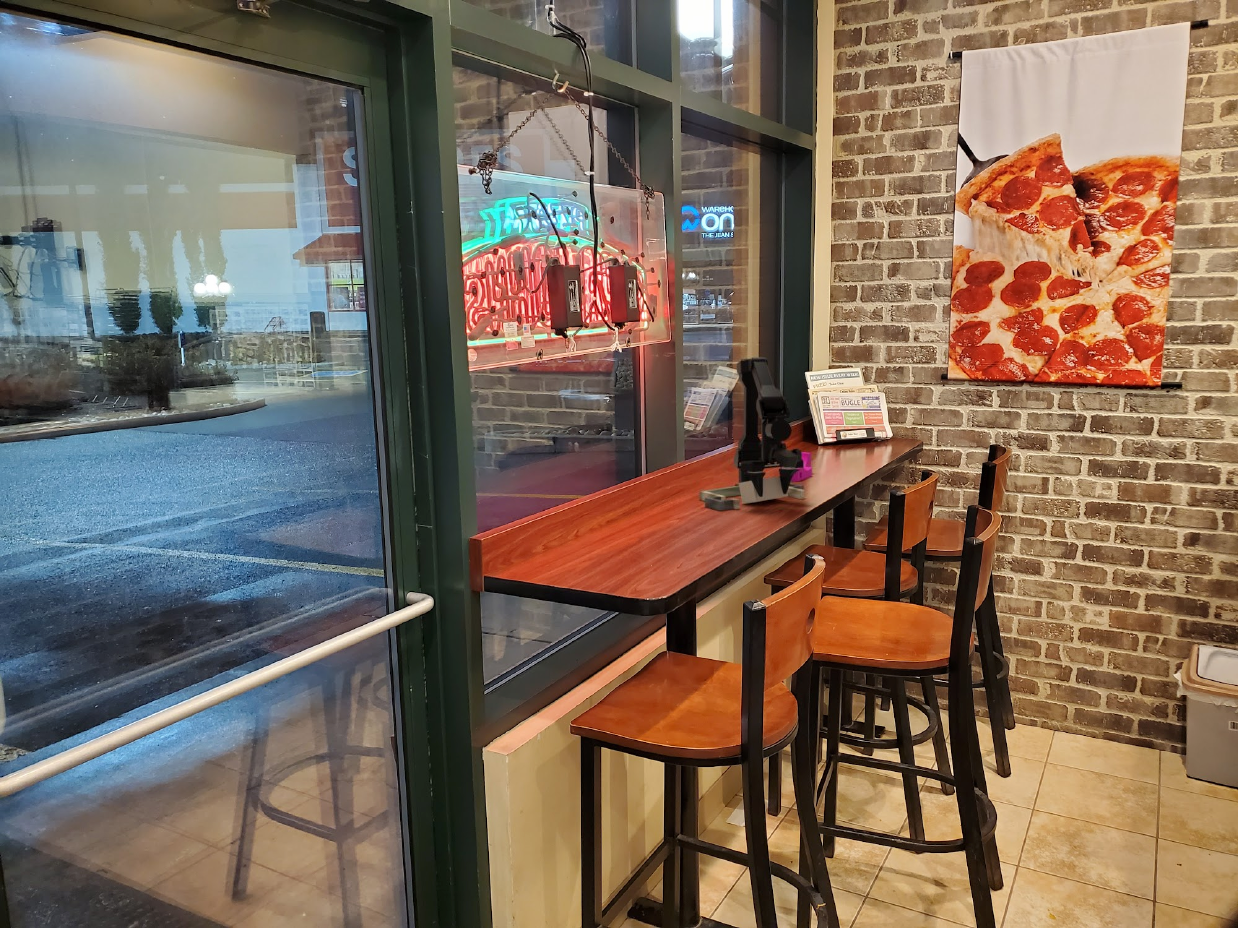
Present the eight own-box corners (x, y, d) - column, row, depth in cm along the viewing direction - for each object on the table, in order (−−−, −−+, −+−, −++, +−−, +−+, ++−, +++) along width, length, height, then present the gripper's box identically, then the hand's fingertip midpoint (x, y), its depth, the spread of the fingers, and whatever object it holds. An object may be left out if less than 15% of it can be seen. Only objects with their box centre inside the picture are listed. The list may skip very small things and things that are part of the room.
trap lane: (686, 501, 269) (686, 492, 269) (778, 488, 286) (778, 480, 285) (722, 511, 254) (722, 502, 254) (816, 496, 271) (816, 488, 271)
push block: (742, 503, 264) (738, 483, 264) (773, 498, 271) (770, 478, 271) (756, 501, 259) (752, 480, 259) (788, 496, 266) (784, 475, 266)
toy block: (797, 483, 295) (798, 459, 294) (779, 481, 299) (780, 458, 298) (817, 475, 307) (818, 453, 306) (800, 474, 311) (800, 452, 309)
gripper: (765, 442, 248) (766, 500, 249) (817, 438, 258) (818, 494, 259) (738, 441, 257) (739, 497, 259) (789, 437, 267) (790, 491, 268)
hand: (772, 495), depth 261 cm, fingers closed on push block, 8 cm apart
